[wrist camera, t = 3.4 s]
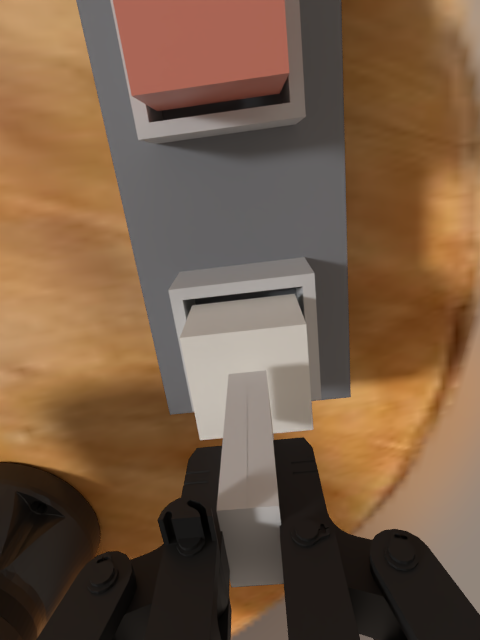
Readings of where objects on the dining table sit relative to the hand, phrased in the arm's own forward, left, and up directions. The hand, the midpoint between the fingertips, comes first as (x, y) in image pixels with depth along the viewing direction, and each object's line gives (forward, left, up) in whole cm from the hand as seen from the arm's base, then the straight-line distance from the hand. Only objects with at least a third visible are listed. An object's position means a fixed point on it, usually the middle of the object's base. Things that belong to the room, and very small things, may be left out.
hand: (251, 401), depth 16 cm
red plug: (+14, 0, -5) cm, 15 cm away
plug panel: (+7, 0, -14) cm, 15 cm away
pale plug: (0, 0, -5) cm, 5 cm away
